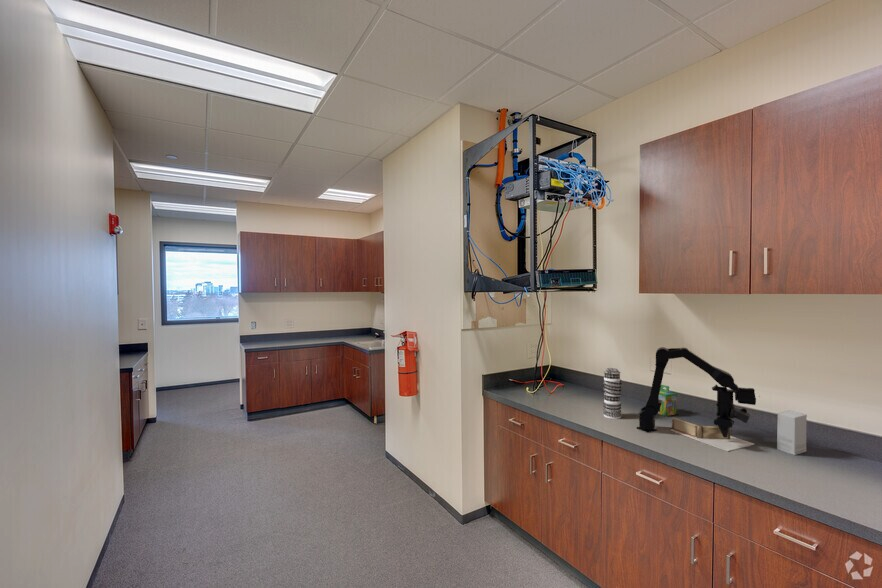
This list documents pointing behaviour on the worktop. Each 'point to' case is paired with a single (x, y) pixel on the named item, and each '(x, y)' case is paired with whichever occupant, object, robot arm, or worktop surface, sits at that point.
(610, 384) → the decorative candle
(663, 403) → the chalk box
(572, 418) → the worktop surface
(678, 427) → the fence post and layout card
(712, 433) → the folding fence panel
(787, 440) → the skincare box
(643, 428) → the robot arm
